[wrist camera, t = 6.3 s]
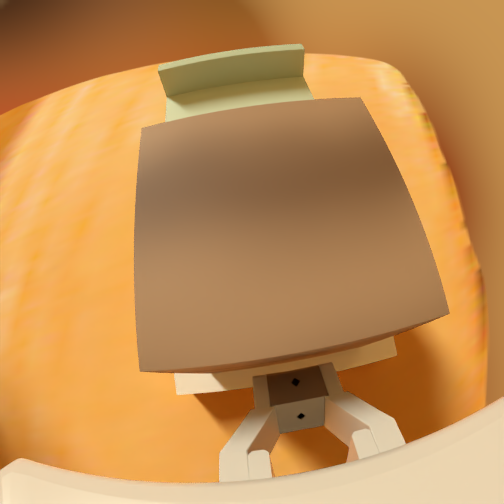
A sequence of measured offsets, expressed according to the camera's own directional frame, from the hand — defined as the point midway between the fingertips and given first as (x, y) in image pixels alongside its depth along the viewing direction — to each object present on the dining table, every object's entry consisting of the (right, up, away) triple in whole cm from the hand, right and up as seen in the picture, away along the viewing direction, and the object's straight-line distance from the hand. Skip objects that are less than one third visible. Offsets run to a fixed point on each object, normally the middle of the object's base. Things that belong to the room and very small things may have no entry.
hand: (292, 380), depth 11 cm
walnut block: (0, +3, +6) cm, 6 cm away
